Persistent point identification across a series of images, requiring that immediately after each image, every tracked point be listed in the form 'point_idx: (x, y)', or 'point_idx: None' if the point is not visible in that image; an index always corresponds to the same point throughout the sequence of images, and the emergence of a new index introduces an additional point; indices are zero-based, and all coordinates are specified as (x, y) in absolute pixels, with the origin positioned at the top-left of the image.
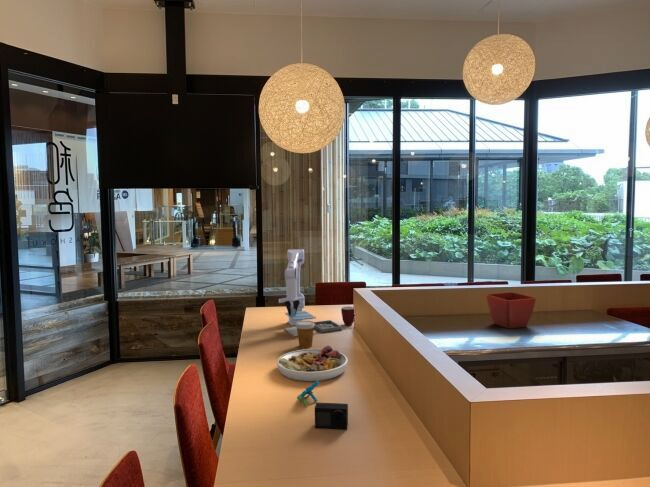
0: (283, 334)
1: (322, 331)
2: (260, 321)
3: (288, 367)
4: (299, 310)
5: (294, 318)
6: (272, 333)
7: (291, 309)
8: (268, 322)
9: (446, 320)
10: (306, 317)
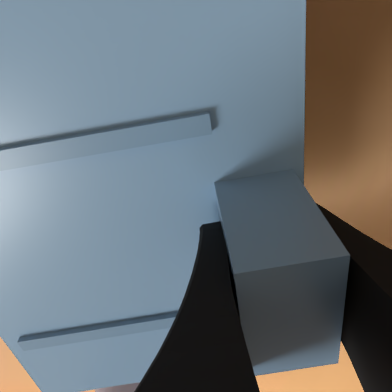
0: (312, 92)
1: None
2: (342, 389)
3: None
4: None
5: (277, 7)
6: (386, 149)
7: (341, 255)
8: (309, 372)
9: None
10: (2, 48)
